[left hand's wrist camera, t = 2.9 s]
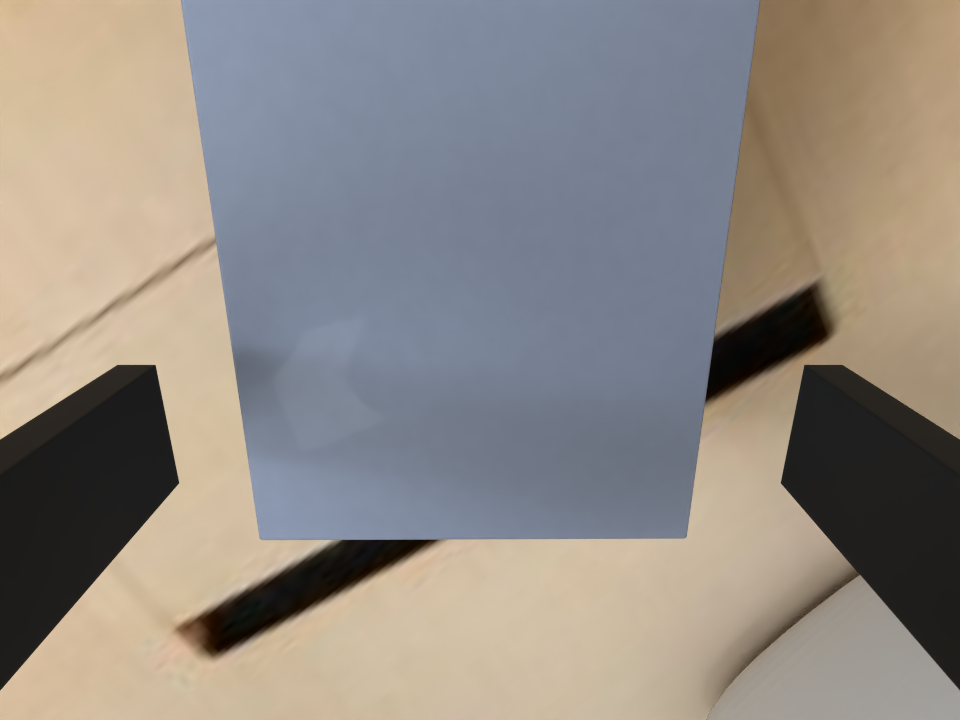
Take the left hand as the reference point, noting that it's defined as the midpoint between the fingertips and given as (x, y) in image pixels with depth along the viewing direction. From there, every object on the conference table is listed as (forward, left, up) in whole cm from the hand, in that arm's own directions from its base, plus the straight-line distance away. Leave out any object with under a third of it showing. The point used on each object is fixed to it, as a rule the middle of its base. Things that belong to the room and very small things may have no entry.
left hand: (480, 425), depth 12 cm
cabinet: (+6, +1, -12) cm, 13 cm away
